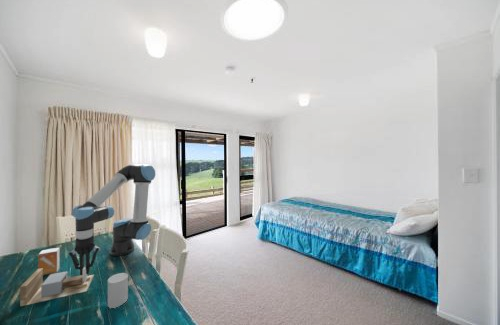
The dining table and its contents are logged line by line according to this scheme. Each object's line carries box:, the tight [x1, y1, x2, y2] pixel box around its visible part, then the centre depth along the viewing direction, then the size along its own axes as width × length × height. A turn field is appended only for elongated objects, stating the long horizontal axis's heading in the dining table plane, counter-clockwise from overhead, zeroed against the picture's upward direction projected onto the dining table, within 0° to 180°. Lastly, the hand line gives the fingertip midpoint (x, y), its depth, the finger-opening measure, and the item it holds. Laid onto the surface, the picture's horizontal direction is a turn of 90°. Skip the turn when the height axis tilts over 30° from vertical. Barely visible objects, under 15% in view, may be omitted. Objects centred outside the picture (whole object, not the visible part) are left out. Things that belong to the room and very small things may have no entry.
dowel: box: [62, 274, 84, 290], centre depth 105 cm, size 10×4×4 cm, turn 117°
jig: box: [19, 268, 95, 307], centre depth 103 cm, size 24×16×10 cm, turn 117°
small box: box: [37, 247, 61, 276], centre depth 120 cm, size 8×6×13 cm
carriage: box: [41, 271, 69, 297], centre depth 102 cm, size 7×10×6 cm
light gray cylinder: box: [107, 272, 129, 309], centre depth 96 cm, size 8×8×12 cm
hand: (84, 280), depth 108 cm, fingers closed
